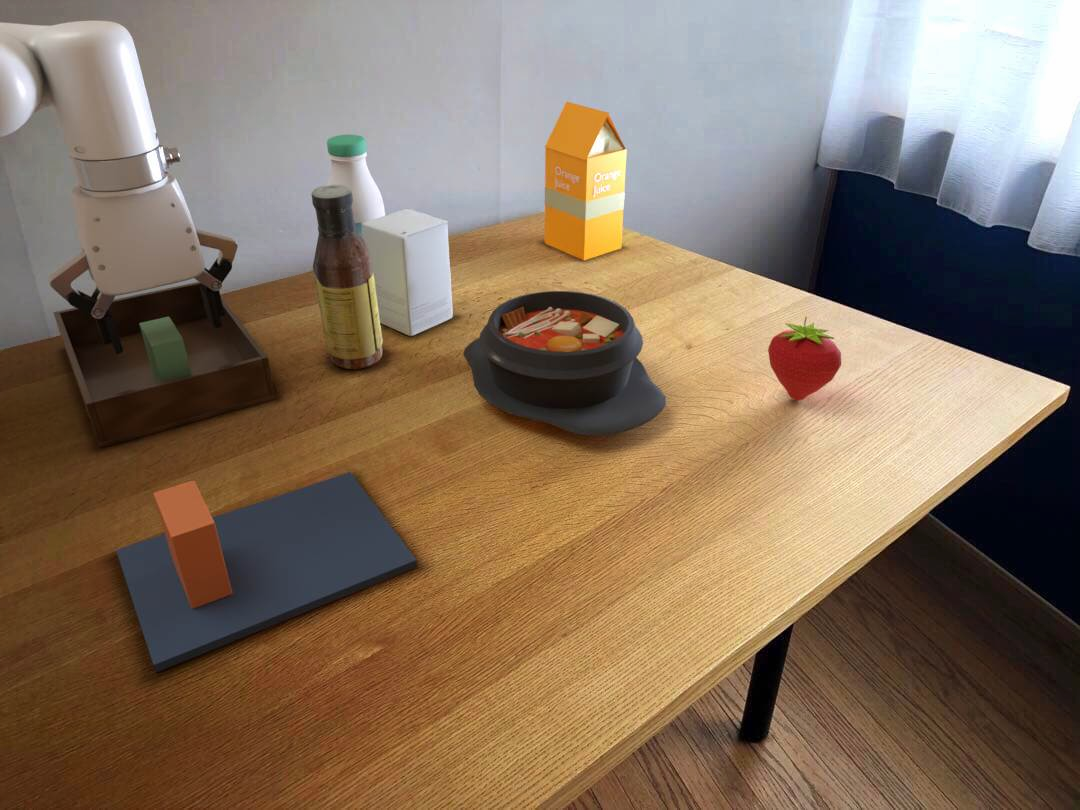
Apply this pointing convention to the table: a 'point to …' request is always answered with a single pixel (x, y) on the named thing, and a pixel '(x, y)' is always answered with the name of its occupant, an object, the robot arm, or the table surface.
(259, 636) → the table surface
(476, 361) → the casserole
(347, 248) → the sauce bottle
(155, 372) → the block
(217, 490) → the table surface
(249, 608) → the mat
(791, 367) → the strawberry
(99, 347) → the tray
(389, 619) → the table surface
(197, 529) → the block
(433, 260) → the white packaging box
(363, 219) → the milk bottle
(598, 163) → the orange juice
